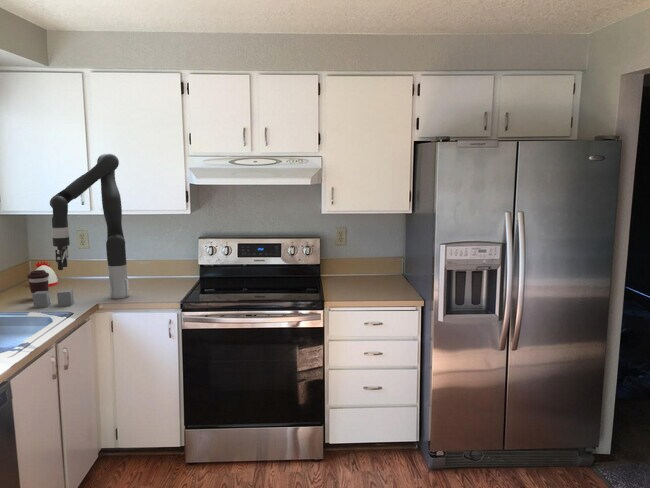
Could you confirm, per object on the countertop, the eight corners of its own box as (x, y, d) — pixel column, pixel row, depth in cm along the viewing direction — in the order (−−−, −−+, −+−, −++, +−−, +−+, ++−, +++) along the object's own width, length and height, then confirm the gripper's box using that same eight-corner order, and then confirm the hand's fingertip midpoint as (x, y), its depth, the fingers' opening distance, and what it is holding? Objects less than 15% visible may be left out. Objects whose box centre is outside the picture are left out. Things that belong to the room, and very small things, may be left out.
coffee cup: (27, 302, 272) (24, 273, 270) (32, 297, 282) (29, 270, 280) (48, 300, 275) (46, 272, 273) (52, 296, 285) (50, 268, 282)
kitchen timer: (32, 283, 316) (30, 259, 314) (58, 281, 322) (56, 257, 319) (30, 288, 303) (28, 262, 301) (57, 286, 309) (55, 260, 307)
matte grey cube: (74, 302, 270) (72, 289, 269) (71, 305, 265) (70, 292, 264) (61, 303, 269) (60, 290, 268) (58, 306, 263) (57, 292, 262)
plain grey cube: (50, 304, 268) (49, 290, 267) (47, 307, 262) (46, 293, 261) (37, 305, 266) (36, 291, 265) (34, 308, 261) (32, 294, 260)
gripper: (65, 238, 256) (67, 271, 258) (72, 234, 270) (74, 265, 272) (48, 238, 254) (50, 271, 257) (56, 234, 268) (58, 266, 270)
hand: (62, 268), depth 264 cm, fingers open, 8 cm apart
